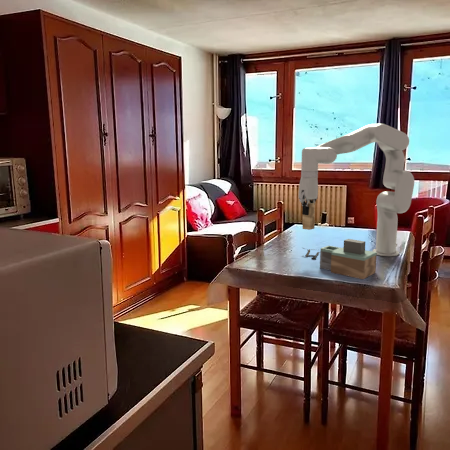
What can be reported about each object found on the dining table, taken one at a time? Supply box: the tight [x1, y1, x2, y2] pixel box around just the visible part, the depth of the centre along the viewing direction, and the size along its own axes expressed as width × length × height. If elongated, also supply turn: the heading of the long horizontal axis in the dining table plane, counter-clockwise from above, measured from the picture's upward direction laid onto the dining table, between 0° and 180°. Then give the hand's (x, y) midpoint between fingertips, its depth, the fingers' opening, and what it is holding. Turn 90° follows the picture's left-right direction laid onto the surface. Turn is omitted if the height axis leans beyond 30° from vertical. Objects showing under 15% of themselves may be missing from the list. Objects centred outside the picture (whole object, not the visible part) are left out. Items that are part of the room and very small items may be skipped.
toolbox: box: [319, 249, 377, 280], centre depth 190 cm, size 12×22×8 cm, turn 47°
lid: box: [320, 238, 378, 261], centre depth 189 cm, size 12×22×6 cm, turn 47°
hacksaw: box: [301, 247, 320, 260], centre depth 221 cm, size 24×10×2 cm, turn 160°
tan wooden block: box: [302, 202, 316, 231], centre depth 202 cm, size 4×4×12 cm
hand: (308, 213), depth 202 cm, fingers closed on tan wooden block, 4 cm apart
